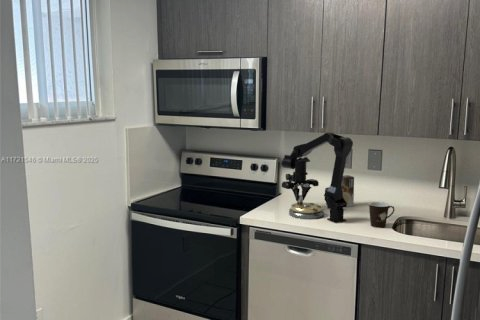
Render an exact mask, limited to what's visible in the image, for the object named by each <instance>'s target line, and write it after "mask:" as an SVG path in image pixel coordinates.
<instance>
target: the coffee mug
mask: <svg viewBox="0 0 480 320" xmlns="http://www.w3.org/2000/svg"><path fill="white" fill-rule="evenodd" d="M368 207H369V219H370V226H371V227H373V228H376V229H383V228H386V225H387V220H388V219H389V218H390V217H391V216H393V214H394V213H395V207H394V206H392V205H390V204H389V203H386V202H381V201H380V202H379V201H373V202H369V203H368ZM390 208H392V211H391V213H389V209H390ZM388 214H389V215H388Z"/></svg>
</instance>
